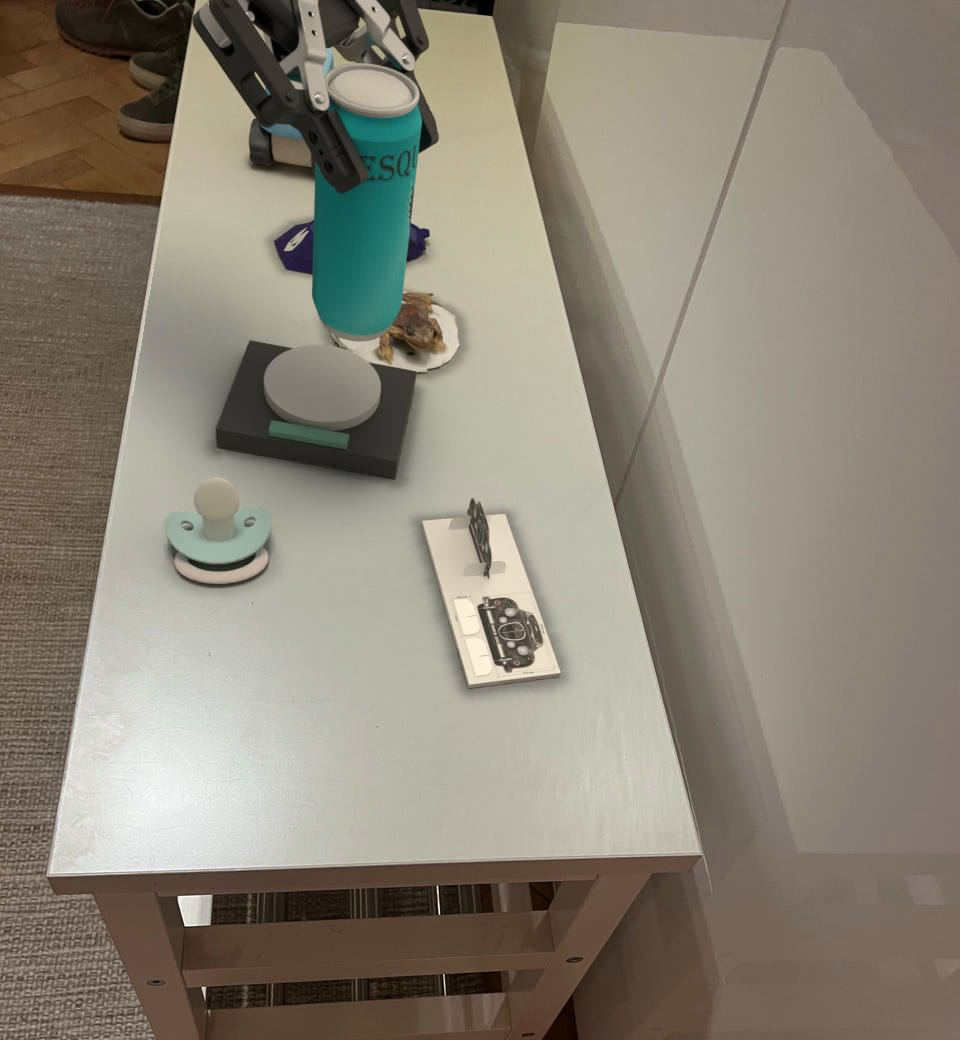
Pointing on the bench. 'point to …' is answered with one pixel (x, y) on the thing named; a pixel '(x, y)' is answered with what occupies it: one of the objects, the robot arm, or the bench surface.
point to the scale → (318, 408)
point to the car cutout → (488, 599)
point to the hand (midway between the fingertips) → (391, 166)
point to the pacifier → (218, 534)
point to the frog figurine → (412, 337)
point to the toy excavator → (282, 139)
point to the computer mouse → (299, 246)
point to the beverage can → (367, 204)
